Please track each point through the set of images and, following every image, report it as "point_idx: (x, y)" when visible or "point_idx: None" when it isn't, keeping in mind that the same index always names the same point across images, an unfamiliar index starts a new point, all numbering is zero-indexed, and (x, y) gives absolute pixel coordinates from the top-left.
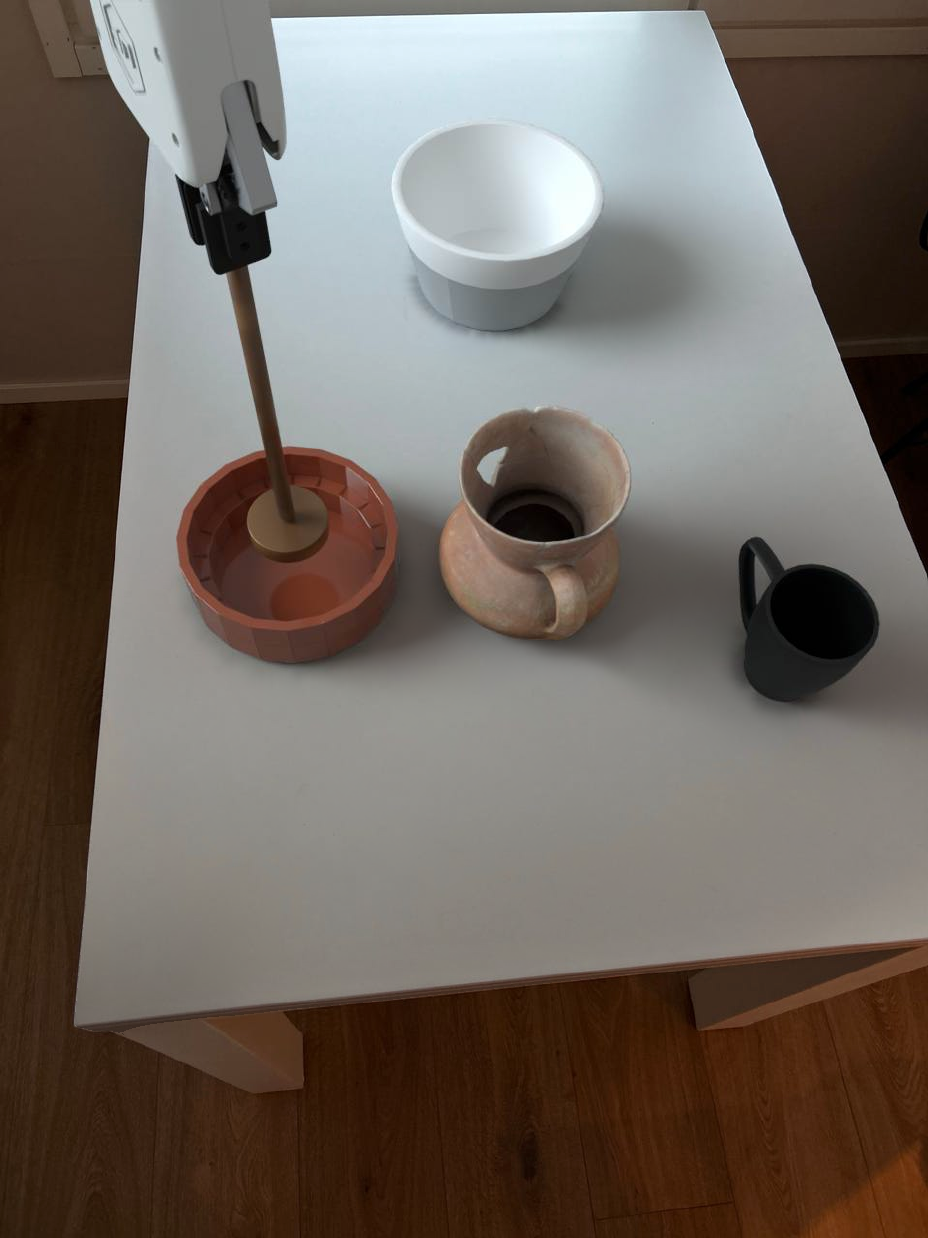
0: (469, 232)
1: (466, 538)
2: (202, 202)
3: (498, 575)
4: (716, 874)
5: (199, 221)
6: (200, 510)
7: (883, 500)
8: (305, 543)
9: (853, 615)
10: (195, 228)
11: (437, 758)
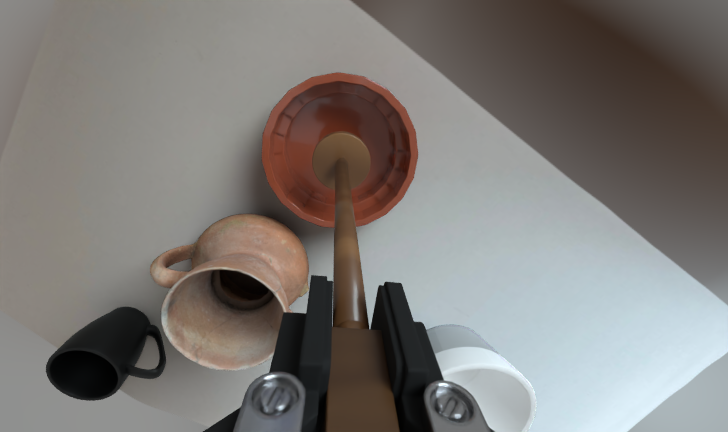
0: (478, 370)
1: (269, 246)
2: (318, 376)
3: (230, 246)
4: (32, 222)
5: (383, 317)
6: (400, 118)
7: (192, 420)
8: (315, 160)
9: (93, 381)
10: (384, 303)
11: (175, 140)
